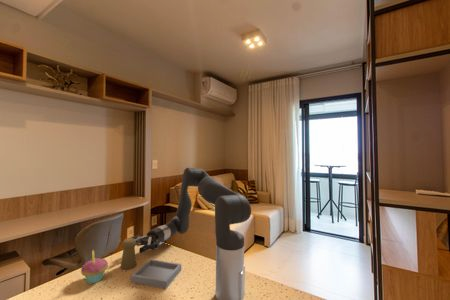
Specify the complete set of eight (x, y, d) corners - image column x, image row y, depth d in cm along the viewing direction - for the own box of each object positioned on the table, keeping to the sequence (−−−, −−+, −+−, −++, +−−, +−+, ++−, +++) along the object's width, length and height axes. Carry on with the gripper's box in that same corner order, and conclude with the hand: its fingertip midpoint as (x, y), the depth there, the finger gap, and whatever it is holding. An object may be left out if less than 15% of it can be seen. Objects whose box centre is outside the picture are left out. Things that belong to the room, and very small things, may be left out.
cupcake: (103, 284, 76) (104, 250, 76) (76, 288, 74) (76, 253, 74) (110, 271, 84) (110, 240, 84) (85, 274, 82) (86, 243, 82)
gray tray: (181, 270, 86) (181, 263, 86) (166, 289, 74) (166, 281, 74) (150, 265, 89) (150, 259, 89) (131, 282, 77) (131, 275, 77)
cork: (130, 271, 84) (131, 243, 84) (117, 269, 86) (117, 241, 86) (139, 263, 90) (140, 237, 90) (126, 261, 92) (127, 235, 92)
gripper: (148, 225, 107) (120, 236, 92) (171, 229, 101) (145, 243, 87) (147, 240, 107) (120, 254, 92) (170, 245, 101) (145, 261, 87)
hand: (132, 248), depth 90 cm, fingers open, 8 cm apart
